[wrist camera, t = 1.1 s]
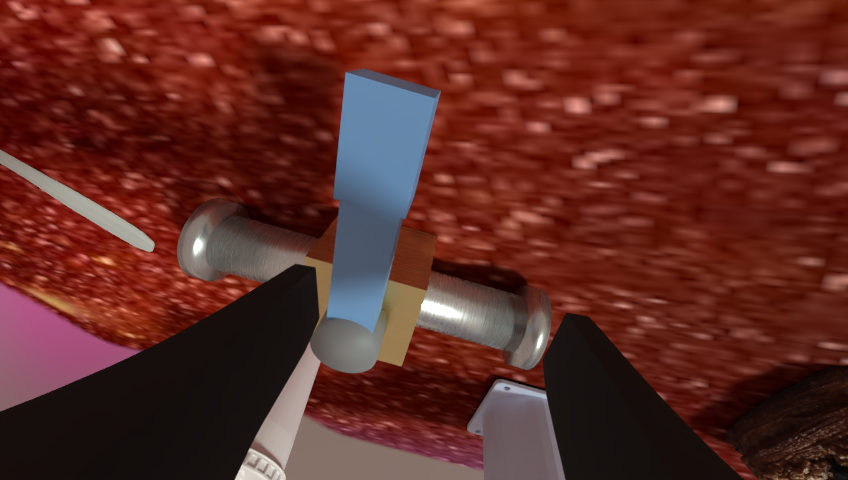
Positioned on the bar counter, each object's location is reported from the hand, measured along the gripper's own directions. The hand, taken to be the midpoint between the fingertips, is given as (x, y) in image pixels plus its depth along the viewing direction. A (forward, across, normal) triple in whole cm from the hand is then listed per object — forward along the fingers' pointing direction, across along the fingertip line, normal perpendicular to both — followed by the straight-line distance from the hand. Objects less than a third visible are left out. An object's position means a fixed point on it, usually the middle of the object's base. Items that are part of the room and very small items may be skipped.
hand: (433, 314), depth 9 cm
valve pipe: (+10, +4, +6) cm, 12 cm away
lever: (+5, +3, +1) cm, 6 cm away
